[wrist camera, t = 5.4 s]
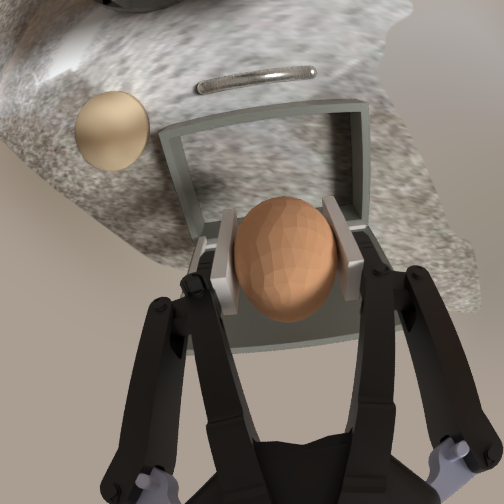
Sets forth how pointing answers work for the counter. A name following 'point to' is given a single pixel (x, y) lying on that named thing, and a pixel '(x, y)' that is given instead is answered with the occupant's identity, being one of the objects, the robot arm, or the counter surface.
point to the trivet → (112, 130)
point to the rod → (256, 78)
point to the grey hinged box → (206, 234)
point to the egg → (285, 258)
